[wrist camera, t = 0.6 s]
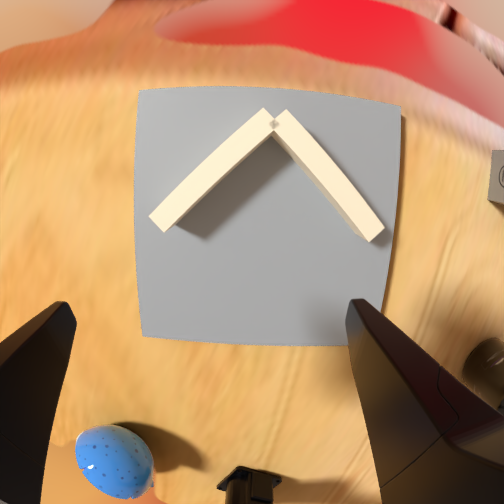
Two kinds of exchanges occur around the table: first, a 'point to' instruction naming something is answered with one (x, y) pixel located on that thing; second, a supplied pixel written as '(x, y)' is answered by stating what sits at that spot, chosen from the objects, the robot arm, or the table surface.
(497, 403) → the supplement bottle
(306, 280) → the v cradle
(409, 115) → the table surface
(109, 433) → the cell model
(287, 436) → the table surface
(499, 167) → the dice cube
